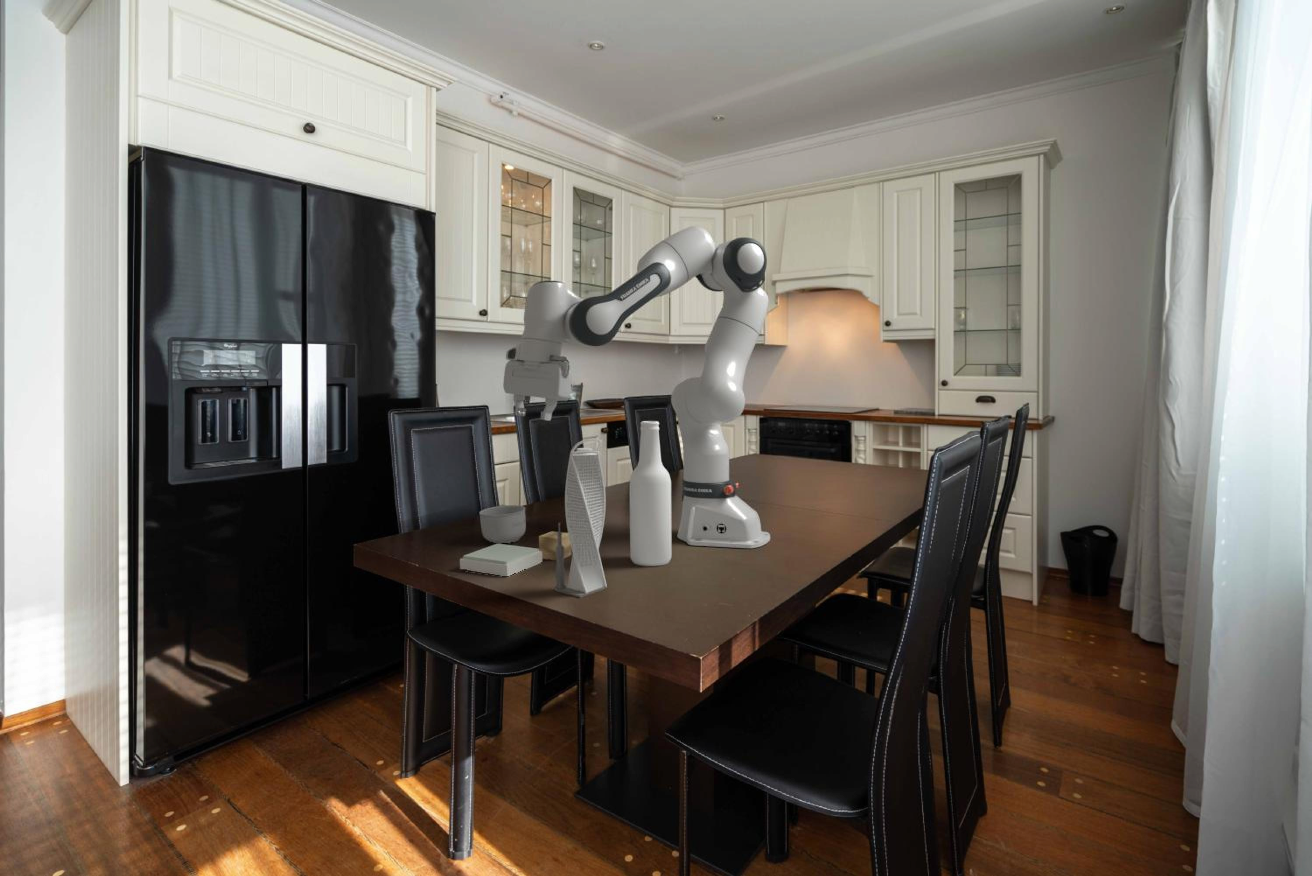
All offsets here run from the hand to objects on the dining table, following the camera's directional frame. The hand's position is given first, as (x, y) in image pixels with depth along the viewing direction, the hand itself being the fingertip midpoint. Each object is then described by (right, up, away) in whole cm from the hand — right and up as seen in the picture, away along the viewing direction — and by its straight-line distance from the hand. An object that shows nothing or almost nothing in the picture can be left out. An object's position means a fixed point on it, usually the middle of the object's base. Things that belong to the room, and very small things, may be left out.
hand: (532, 417), depth 150 cm
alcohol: (+26, -31, -3) cm, 40 cm away
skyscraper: (+14, -33, -22) cm, 42 cm away
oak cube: (+5, -31, +1) cm, 31 cm away
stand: (-5, -31, -6) cm, 32 cm away
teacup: (-10, -29, +17) cm, 35 cm away
